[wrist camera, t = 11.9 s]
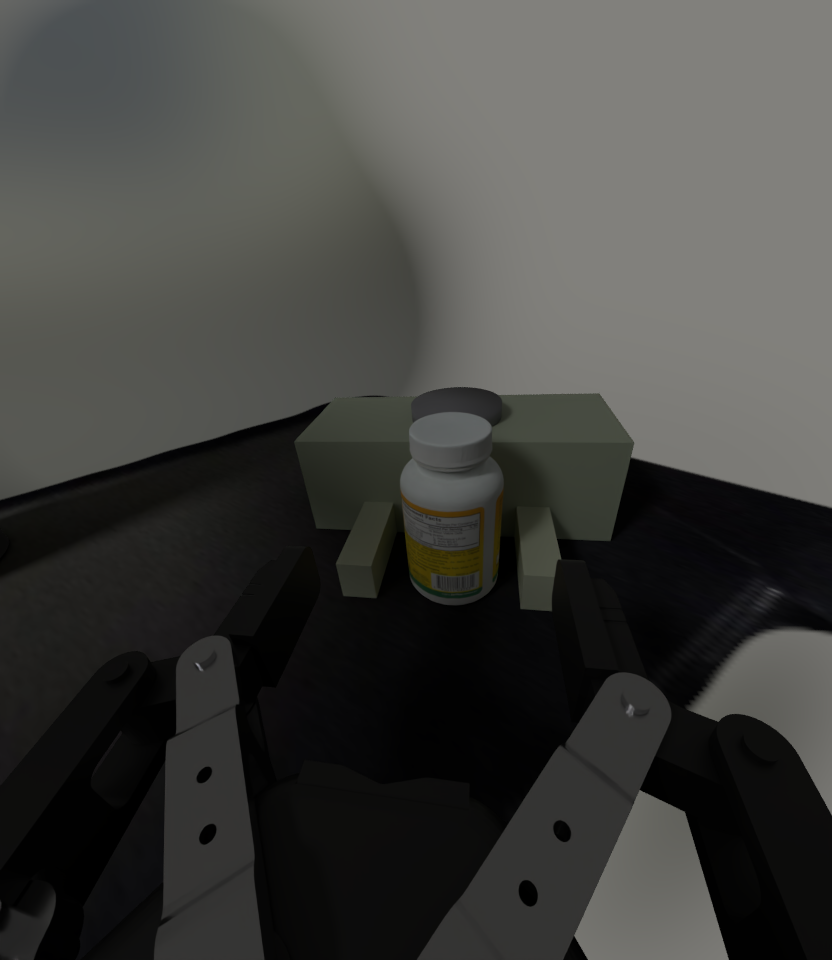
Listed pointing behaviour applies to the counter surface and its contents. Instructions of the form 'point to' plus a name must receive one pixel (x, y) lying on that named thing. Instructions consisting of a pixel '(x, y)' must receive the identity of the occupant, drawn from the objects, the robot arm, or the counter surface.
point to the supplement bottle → (452, 508)
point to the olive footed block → (515, 447)
